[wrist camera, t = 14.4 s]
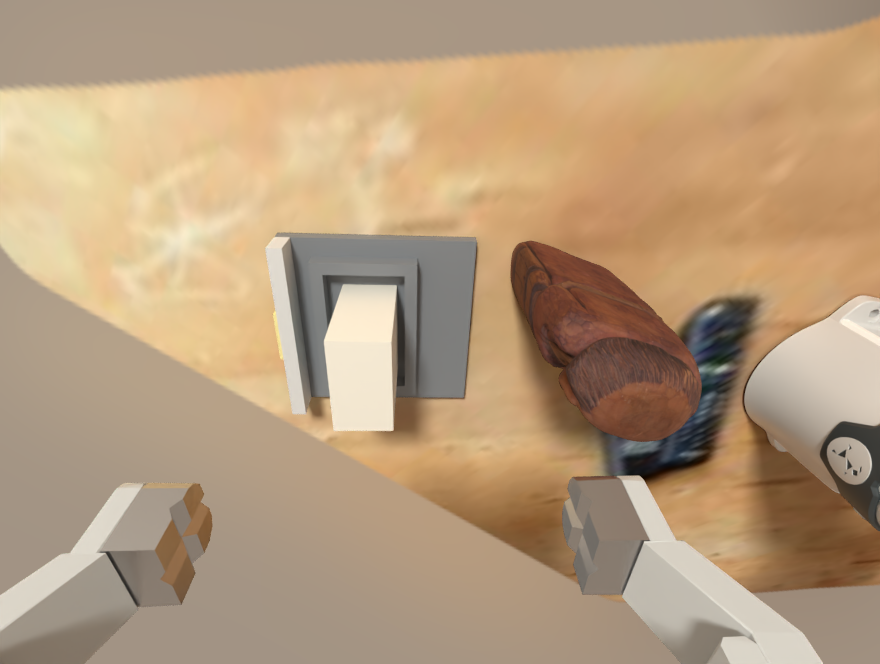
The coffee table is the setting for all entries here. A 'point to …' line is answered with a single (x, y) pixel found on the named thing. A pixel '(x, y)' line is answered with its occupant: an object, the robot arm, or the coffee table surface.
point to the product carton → (363, 358)
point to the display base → (374, 263)
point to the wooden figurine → (605, 345)
